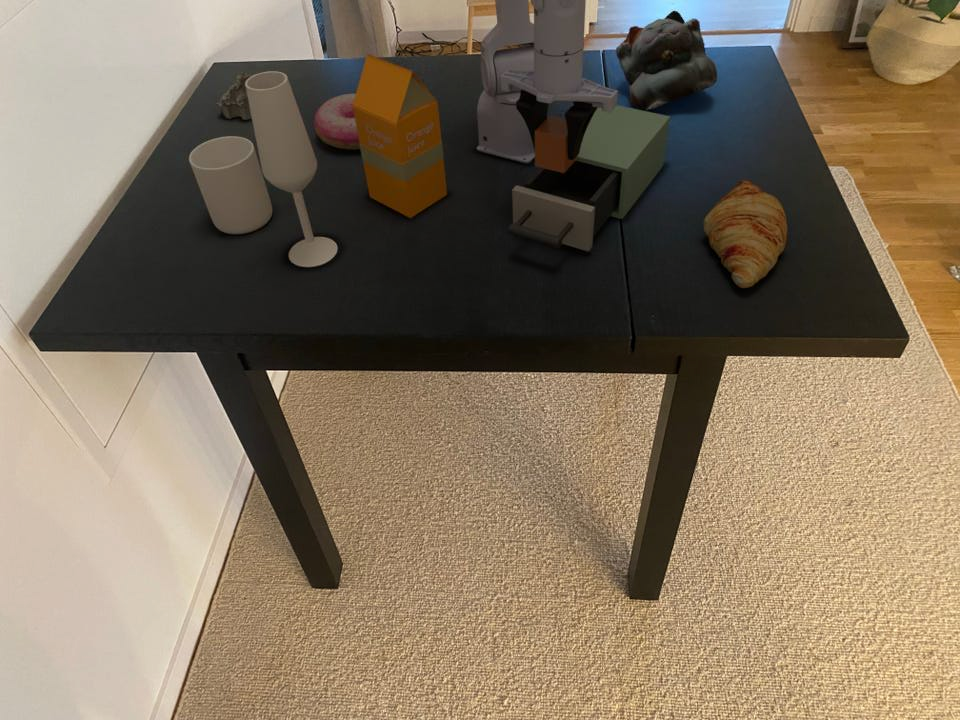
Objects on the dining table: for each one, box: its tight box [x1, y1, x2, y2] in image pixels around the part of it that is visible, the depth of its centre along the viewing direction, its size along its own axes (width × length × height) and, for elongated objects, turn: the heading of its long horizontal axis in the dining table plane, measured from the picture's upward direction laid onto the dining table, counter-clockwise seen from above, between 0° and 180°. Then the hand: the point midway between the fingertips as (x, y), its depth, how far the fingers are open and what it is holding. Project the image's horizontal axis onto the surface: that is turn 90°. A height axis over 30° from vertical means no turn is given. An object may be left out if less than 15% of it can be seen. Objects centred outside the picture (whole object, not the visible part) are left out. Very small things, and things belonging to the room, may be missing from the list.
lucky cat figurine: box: [615, 10, 718, 112], centre depth 121 cm, size 15×12×14 cm
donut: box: [313, 92, 360, 151], centre depth 119 cm, size 14×13×5 cm
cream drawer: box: [507, 160, 622, 252], centre depth 97 cm, size 19×11×6 cm, turn 149°
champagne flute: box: [245, 70, 339, 268], centre depth 91 cm, size 7×7×24 cm
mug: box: [188, 135, 273, 235], centre depth 103 cm, size 9×12×11 cm
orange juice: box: [352, 53, 448, 219], centre depth 100 cm, size 8×9×20 cm
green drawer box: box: [576, 104, 671, 220], centre depth 105 cm, size 15×12×8 cm
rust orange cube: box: [534, 115, 578, 173], centre depth 93 cm, size 4×4×5 cm
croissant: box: [702, 179, 788, 289], centre depth 93 cm, size 21×10×8 cm, turn 167°
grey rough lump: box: [215, 70, 253, 121], centre depth 129 cm, size 11×8×4 cm
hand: (556, 152), depth 94 cm, fingers closed on rust orange cube, 4 cm apart
